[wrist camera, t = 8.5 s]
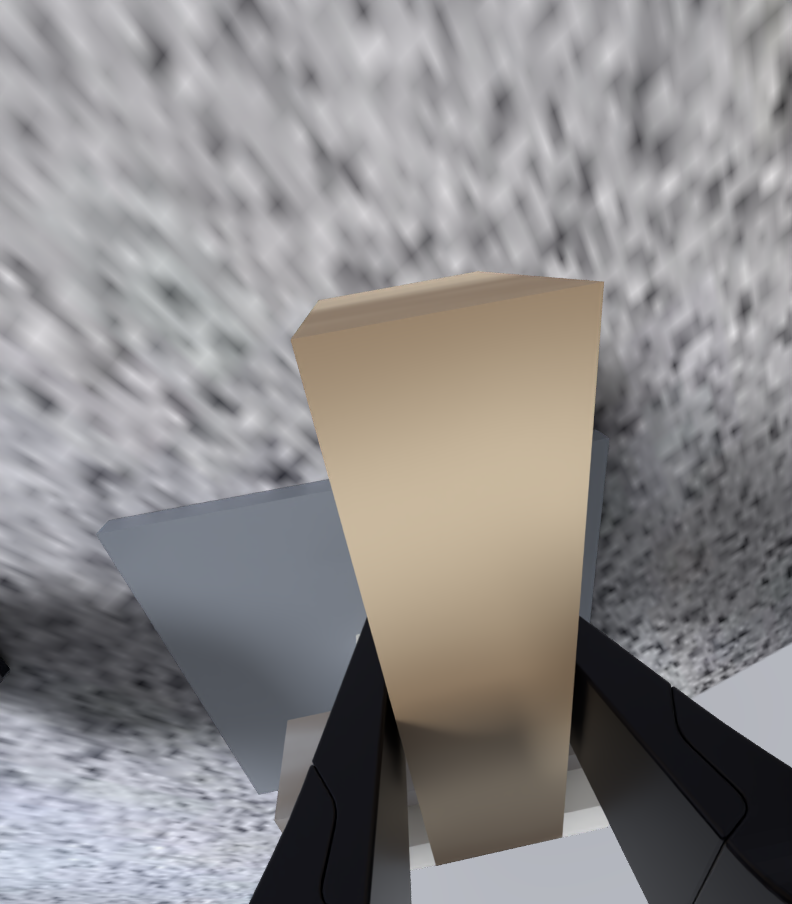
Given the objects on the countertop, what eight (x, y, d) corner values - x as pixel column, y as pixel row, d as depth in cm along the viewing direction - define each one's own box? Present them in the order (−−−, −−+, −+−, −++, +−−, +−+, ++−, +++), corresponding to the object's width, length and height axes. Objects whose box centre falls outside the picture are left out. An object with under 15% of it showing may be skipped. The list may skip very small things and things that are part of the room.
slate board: (261, 777, 22) (258, 794, 21) (109, 520, 14) (96, 534, 13) (571, 712, 23) (578, 727, 22) (596, 429, 15) (609, 438, 14)
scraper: (99, 340, 7) (-153, 420, 4) (684, 233, 7) (999, 209, 4) (294, 734, 13) (273, 917, 9) (618, 664, 13) (720, 815, 10)
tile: (363, 659, 18) (371, 882, 11) (355, 634, 17) (360, 857, 10) (515, 629, 18) (607, 830, 11) (515, 603, 17) (613, 802, 11)
